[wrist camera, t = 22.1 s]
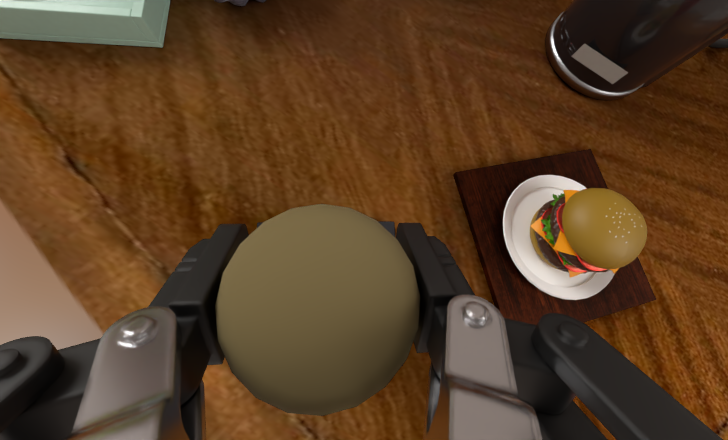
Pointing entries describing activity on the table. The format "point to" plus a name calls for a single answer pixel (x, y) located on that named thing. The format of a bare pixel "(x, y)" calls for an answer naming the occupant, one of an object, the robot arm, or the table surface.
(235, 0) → the seashell
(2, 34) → the tray
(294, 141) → the table surface
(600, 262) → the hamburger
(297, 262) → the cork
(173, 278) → the robot arm
